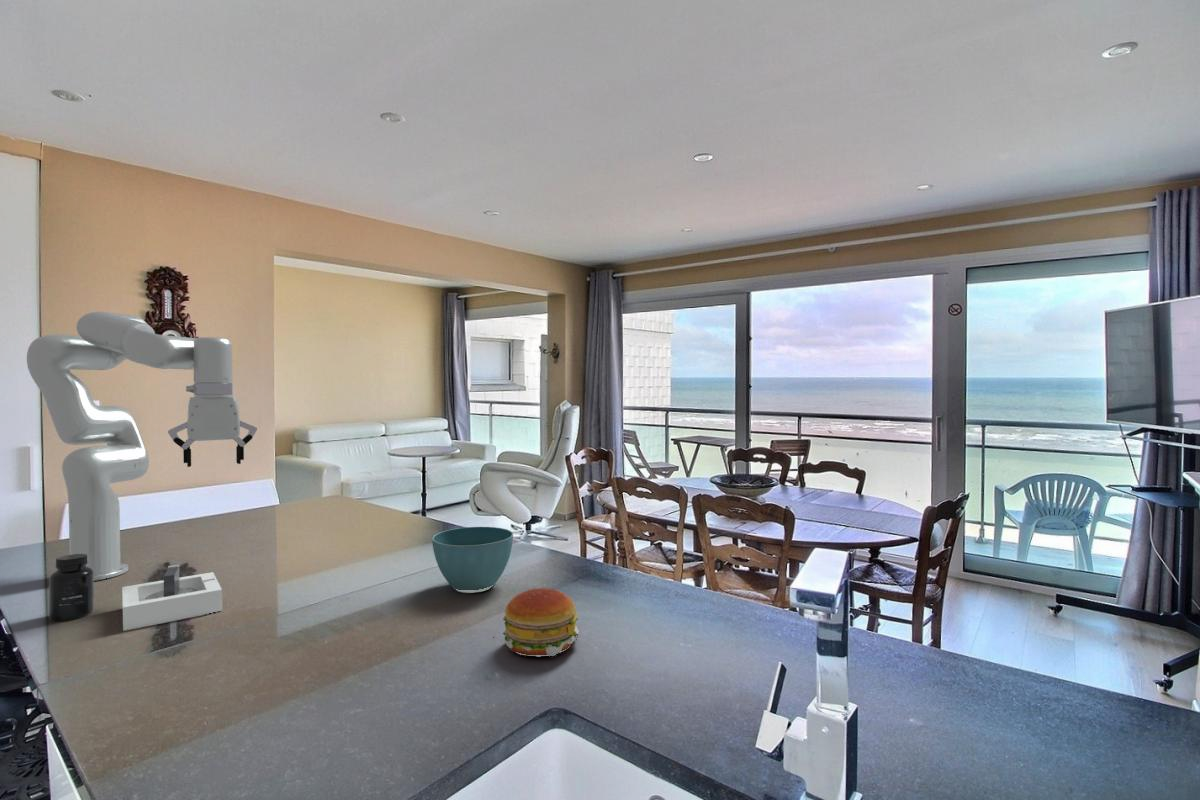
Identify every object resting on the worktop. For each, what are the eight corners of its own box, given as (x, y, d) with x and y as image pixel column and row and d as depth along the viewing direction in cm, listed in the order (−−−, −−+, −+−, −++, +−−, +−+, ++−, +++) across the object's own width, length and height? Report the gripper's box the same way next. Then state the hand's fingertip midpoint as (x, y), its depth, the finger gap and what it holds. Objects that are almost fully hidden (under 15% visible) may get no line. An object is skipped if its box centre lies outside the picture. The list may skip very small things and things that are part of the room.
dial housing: (122, 608, 125) (122, 586, 125) (213, 591, 135) (213, 571, 135) (123, 631, 113) (122, 606, 113) (222, 611, 123) (222, 588, 123)
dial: (195, 604, 122) (195, 572, 122) (140, 612, 118) (140, 579, 118) (200, 591, 130) (200, 561, 130) (149, 598, 126) (148, 567, 125)
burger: (495, 638, 110) (494, 584, 110) (564, 626, 115) (564, 575, 115) (514, 670, 98) (514, 609, 97) (590, 655, 103) (590, 598, 103)
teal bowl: (415, 595, 132) (415, 540, 132) (463, 572, 149) (463, 523, 149) (485, 606, 126) (484, 548, 125) (527, 580, 142) (527, 529, 142)
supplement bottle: (67, 623, 117) (66, 562, 117) (39, 620, 118) (38, 560, 118) (102, 610, 123) (101, 553, 123) (76, 608, 125) (75, 551, 125)
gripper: (166, 391, 130) (167, 469, 130) (257, 391, 140) (258, 463, 140) (168, 391, 136) (169, 465, 137) (255, 390, 146) (256, 460, 146)
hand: (214, 464), depth 138 cm, fingers open, 9 cm apart
